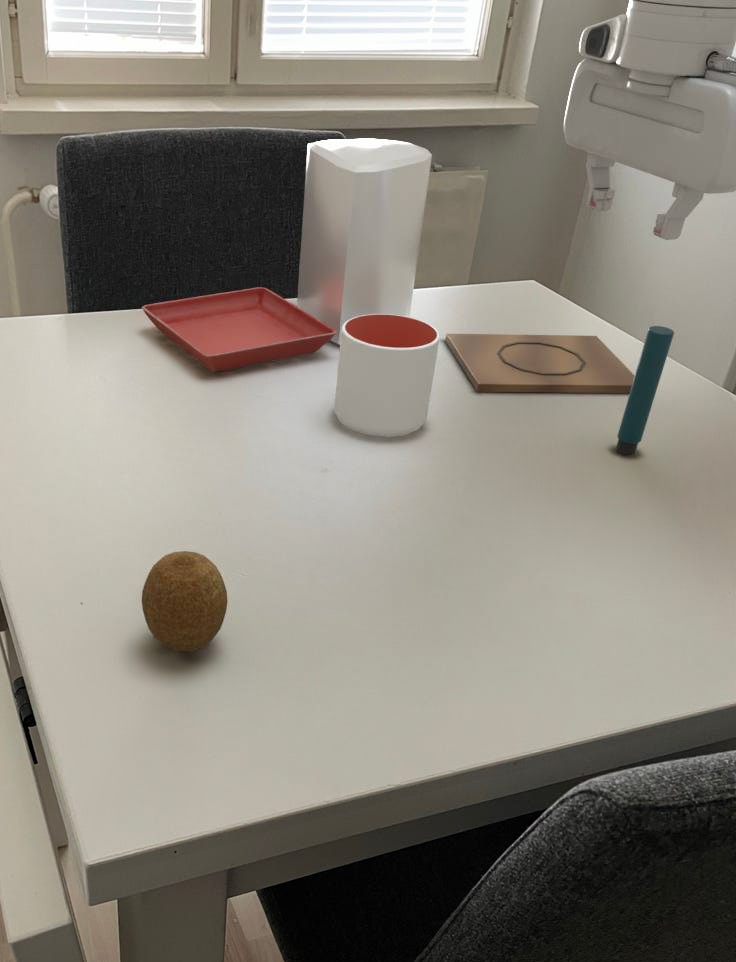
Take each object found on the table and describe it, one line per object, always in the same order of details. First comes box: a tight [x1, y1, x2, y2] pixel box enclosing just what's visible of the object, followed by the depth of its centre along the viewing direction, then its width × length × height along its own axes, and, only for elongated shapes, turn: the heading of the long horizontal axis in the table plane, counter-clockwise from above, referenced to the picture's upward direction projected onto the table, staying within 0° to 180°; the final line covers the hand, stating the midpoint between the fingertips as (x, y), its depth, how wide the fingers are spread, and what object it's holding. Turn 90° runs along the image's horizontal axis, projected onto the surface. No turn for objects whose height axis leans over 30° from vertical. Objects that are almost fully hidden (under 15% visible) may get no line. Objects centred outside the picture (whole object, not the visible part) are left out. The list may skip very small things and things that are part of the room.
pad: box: [444, 333, 635, 394], centre depth 121 cm, size 20×16×1 cm
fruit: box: [141, 550, 229, 652], centre depth 72 cm, size 6×6×8 cm
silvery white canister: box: [296, 138, 433, 345], centre depth 124 cm, size 15×14×22 cm
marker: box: [615, 325, 675, 457], centre depth 100 cm, size 2×2×13 cm
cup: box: [333, 314, 441, 438], centre depth 104 cm, size 10×10×10 cm
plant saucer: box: [141, 286, 336, 373], centre depth 122 cm, size 18×18×3 cm
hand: (630, 222), depth 89 cm, fingers open, 8 cm apart
